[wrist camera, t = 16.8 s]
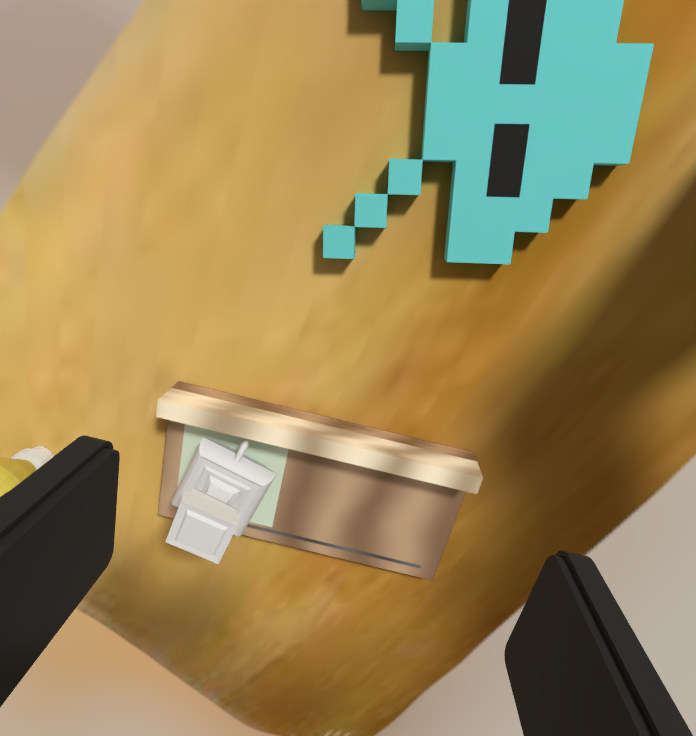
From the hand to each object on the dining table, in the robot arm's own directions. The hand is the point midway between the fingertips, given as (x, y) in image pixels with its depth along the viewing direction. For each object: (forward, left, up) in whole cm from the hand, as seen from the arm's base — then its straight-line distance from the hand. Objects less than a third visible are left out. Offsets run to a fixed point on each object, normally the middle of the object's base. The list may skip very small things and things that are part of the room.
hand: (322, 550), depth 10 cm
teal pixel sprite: (-4, -14, -29) cm, 32 cm away
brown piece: (+1, +18, -28) cm, 33 cm away
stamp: (+8, +17, -27) cm, 33 cm away
